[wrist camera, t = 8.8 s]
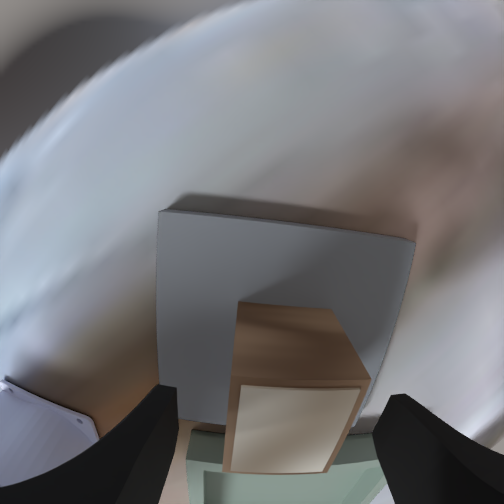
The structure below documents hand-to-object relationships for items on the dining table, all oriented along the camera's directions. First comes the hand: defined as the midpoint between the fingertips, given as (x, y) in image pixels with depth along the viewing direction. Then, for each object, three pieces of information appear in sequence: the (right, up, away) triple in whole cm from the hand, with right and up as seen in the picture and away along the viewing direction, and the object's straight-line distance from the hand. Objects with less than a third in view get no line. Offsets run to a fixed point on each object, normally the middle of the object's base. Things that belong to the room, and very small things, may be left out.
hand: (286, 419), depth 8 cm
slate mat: (0, +1, +5) cm, 5 cm away
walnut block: (0, +1, +4) cm, 4 cm away
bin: (+1, -13, +9) cm, 16 cm away
